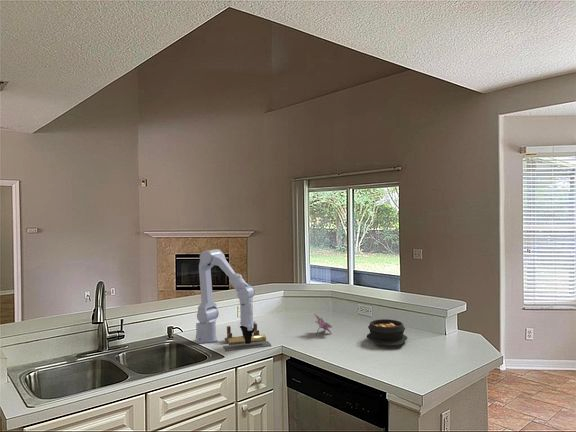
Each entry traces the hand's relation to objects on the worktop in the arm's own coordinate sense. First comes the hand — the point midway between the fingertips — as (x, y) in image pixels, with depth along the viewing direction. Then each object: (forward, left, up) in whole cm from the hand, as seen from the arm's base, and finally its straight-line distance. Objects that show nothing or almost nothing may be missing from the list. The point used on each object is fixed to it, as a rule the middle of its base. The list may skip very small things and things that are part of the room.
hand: (247, 342), depth 193 cm
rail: (0, 0, +1) cm, 1 cm away
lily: (+40, +7, -2) cm, 40 cm away
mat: (0, 0, -2) cm, 2 cm away
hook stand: (0, +10, -2) cm, 11 cm away
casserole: (+63, -15, -2) cm, 65 cm away
